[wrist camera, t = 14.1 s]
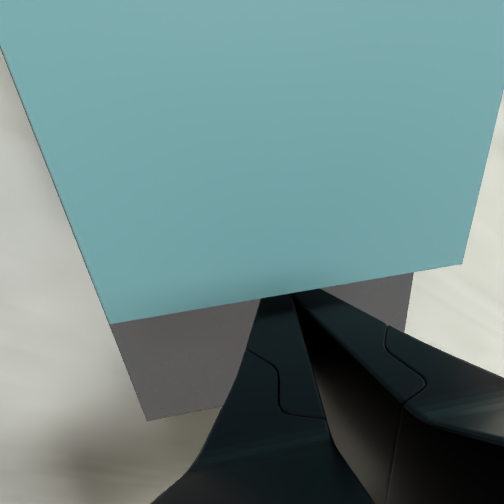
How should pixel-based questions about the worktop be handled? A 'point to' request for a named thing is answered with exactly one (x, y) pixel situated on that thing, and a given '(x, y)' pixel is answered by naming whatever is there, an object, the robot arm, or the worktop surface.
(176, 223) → the slide jaw
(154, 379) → the vise
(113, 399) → the worktop surface
